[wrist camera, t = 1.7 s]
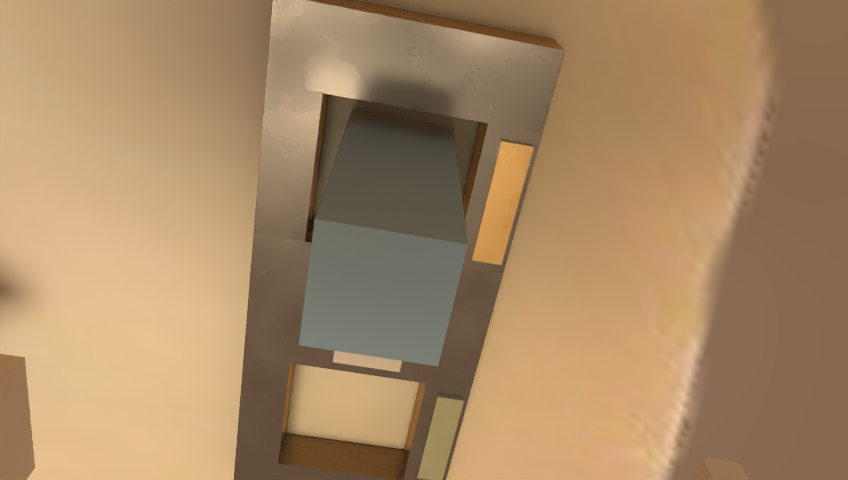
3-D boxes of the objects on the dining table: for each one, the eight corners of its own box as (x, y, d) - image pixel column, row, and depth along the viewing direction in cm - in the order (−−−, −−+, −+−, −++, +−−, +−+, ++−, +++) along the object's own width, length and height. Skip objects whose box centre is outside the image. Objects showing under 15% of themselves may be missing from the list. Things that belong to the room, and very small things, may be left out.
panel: (284, -14, 24) (272, -6, 22) (554, 39, 25) (565, 51, 23) (241, 471, 35) (230, 505, 33) (431, 497, 35) (432, 532, 33)
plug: (352, 109, 26) (314, 218, 17) (453, 127, 26) (467, 244, 17) (336, 219, 28) (296, 367, 19) (430, 235, 28) (432, 387, 20)
